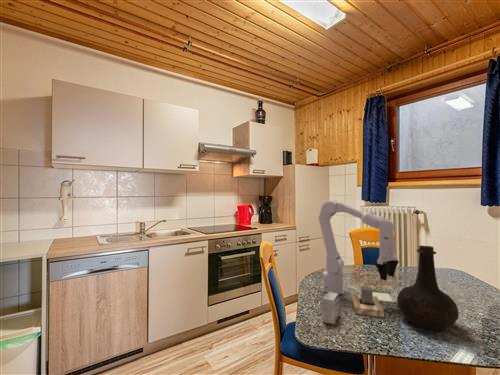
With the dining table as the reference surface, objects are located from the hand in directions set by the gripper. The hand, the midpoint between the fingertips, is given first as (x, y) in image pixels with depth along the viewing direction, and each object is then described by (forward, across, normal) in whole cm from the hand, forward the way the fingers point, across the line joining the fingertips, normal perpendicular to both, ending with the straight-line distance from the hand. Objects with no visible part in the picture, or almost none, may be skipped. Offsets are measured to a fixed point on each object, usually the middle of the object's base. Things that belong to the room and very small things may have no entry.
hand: (387, 277), depth 109 cm
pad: (+10, +1, +4) cm, 11 cm away
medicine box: (+10, -33, +7) cm, 35 cm away
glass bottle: (+10, -9, -17) cm, 22 cm away
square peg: (+10, -14, +3) cm, 17 cm away
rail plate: (+10, -14, +3) cm, 17 cm away
